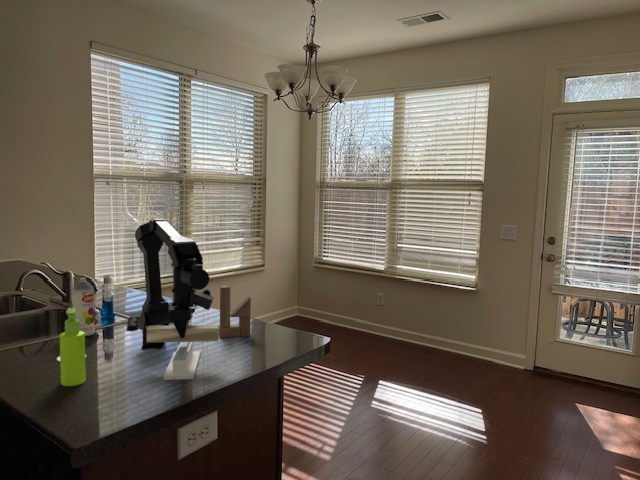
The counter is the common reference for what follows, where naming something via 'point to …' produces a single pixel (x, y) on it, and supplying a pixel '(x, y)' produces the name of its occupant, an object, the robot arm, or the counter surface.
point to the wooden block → (233, 315)
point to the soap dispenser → (72, 352)
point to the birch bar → (192, 333)
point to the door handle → (134, 322)
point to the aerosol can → (84, 306)
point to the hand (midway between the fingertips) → (183, 336)
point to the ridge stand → (183, 363)
